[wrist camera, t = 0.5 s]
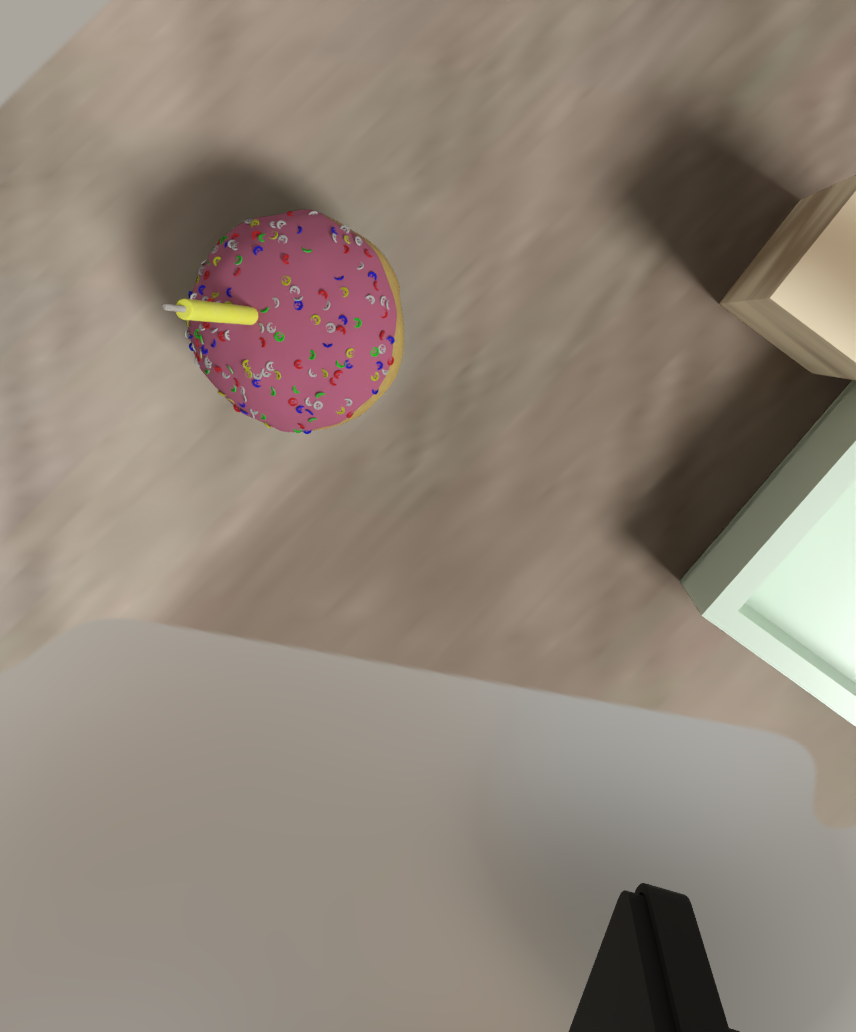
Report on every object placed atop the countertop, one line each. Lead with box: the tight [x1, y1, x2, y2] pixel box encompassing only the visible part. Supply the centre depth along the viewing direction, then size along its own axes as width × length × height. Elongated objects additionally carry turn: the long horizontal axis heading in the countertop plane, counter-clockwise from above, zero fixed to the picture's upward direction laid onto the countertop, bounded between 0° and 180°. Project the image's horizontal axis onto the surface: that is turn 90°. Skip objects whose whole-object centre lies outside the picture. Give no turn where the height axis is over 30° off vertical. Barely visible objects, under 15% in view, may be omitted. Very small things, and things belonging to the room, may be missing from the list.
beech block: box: [719, 175, 856, 380], centre depth 29 cm, size 5×5×7 cm
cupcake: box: [162, 209, 404, 434], centre depth 30 cm, size 9×8×12 cm
